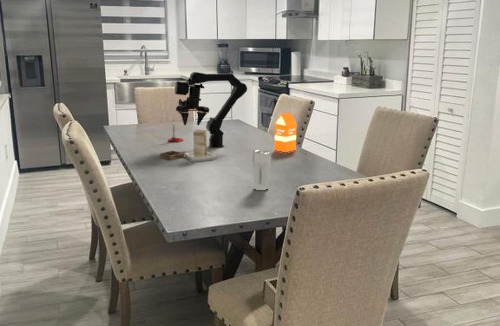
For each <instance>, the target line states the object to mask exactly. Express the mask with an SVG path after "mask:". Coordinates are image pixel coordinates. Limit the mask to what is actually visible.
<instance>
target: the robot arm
mask: <svg viewBox="0 0 500 326" xmlns="http://www.w3.org/2000/svg"><path fill="white" fill-rule="evenodd" d="M223 81H224V82H225V81H227V82H228V83H229V84H230V86H232V89H231V93H230V95H229V97H228V98H227V100H226V101H225V103H224V104H223V106H222V107H221V109H219V111H218V112H217V114H216V115H215V116H214V117H209V119H208V121H207V122H206V127H205V128H206V131H208V132H209V134H210V135H209V143H208V146H209V147H211V148H213V149H214V148H217V149H218V148H223V147H225V145H224V143H223V141H224V139H223V138H224V137H223V136H224V131H222V130H221V127H222V124H223V121H224V120H225V118H226V116H228V114H229V112H230V111H231V110H232V108H233V107H234V106H235V104H236V102H237V101H238V100H239V99H240V98H242V97H243V96H244V95H245V94H246V92H247V91H248V86H247V85H246V83H243V82H242V81H240V80H239V79H238V78H237V77H236V76H235V75H234V73H229V72H227V73H205V72H204V73H203V72H199V71H198V72H197V71H194V72H191V73H190V76H189V78H188V79H187V80H186V81H185V82H184V81H183V82H182V81H178V80H177V81H176V83H175V87H174V94H175V95H180V96H187V95H188V97H186V99H183V98H180V99H179V100H178V105H177V106H176V107H175V108H176V109H175V111H176V112H177V113H178V114H179V115H180V116H181V118H182V123H183V126H186V125H187V122H188V117H189V112H196V114H197V119H196V120H197V121H196V125H197V126H200V124H201V123H202V121H203V119H204V118H205V117H206V115H208V114H209V113H210V108H209V107H208V106H202V105H200V101H202V99H201V98H200V97H201V90H202V89H205V86H204V85H203V84H204V83H207V82H223Z"/></svg>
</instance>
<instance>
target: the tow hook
mask: <svg viewBox="0 0 500 326" xmlns="http://www.w3.org/2000/svg"><path fill="white" fill-rule="evenodd" d="M175 128H176V123H175V119H172V134H171V136H172V137H171V138H168V139H167V142H170V143H180V142H183V141H184V138H182V137H181V138H180V137H176V131H175V130H176V129H175Z"/></svg>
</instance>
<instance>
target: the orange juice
mask: <svg viewBox="0 0 500 326" xmlns="http://www.w3.org/2000/svg"><path fill="white" fill-rule="evenodd" d="M296 147H297V122H296V120H295V118H294V116H293V114H292V112H288V113H281V114H280V115H279V117H278V118H277V120H276V121H275V123H274V150H277V151H282V152H288V151H292V150H296ZM277 151H276V152H277ZM282 152H281V153H282ZM292 152H293V151H292ZM288 153H289V152H288Z"/></svg>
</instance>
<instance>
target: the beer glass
mask: <svg viewBox="0 0 500 326" xmlns="http://www.w3.org/2000/svg"><path fill="white" fill-rule="evenodd" d="M252 152H253V153H252V171H253V177H254V178H253V179H254V182H253V187H252V188H254V189H256V190H255V191H257V190H266V189H268V188H269V189H270V187H269V175H270V170H271V151H270V150H267V149H257V150H253V151H252ZM254 189H253V190H254ZM269 189H268V190H269ZM266 191H267V190H266Z"/></svg>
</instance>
